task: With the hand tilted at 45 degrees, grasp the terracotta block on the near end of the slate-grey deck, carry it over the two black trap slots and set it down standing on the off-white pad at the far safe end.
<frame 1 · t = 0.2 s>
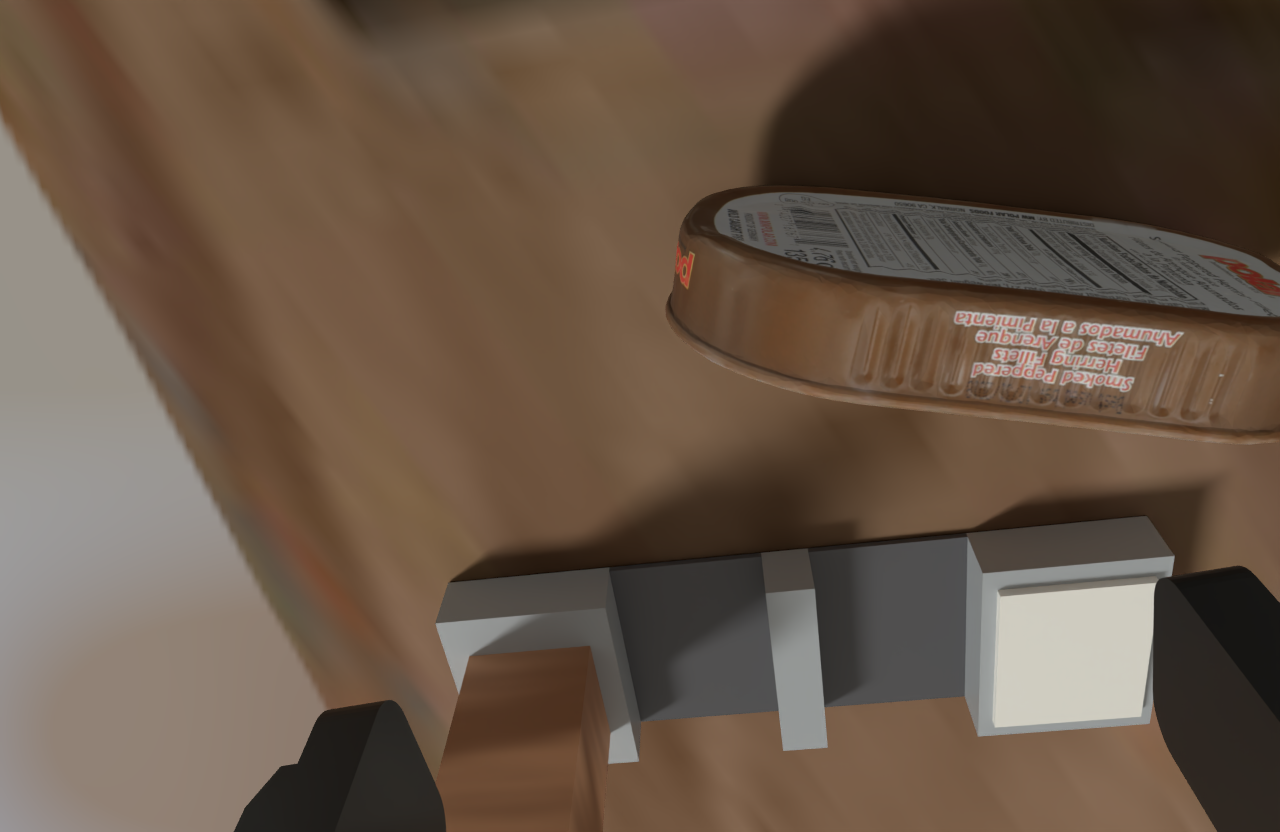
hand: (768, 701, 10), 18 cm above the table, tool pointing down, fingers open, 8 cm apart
tin: (949, 232, 26), on the table
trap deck: (792, 631, 33), on the table
block: (541, 695, 33), point 2 cm above the table, touching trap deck
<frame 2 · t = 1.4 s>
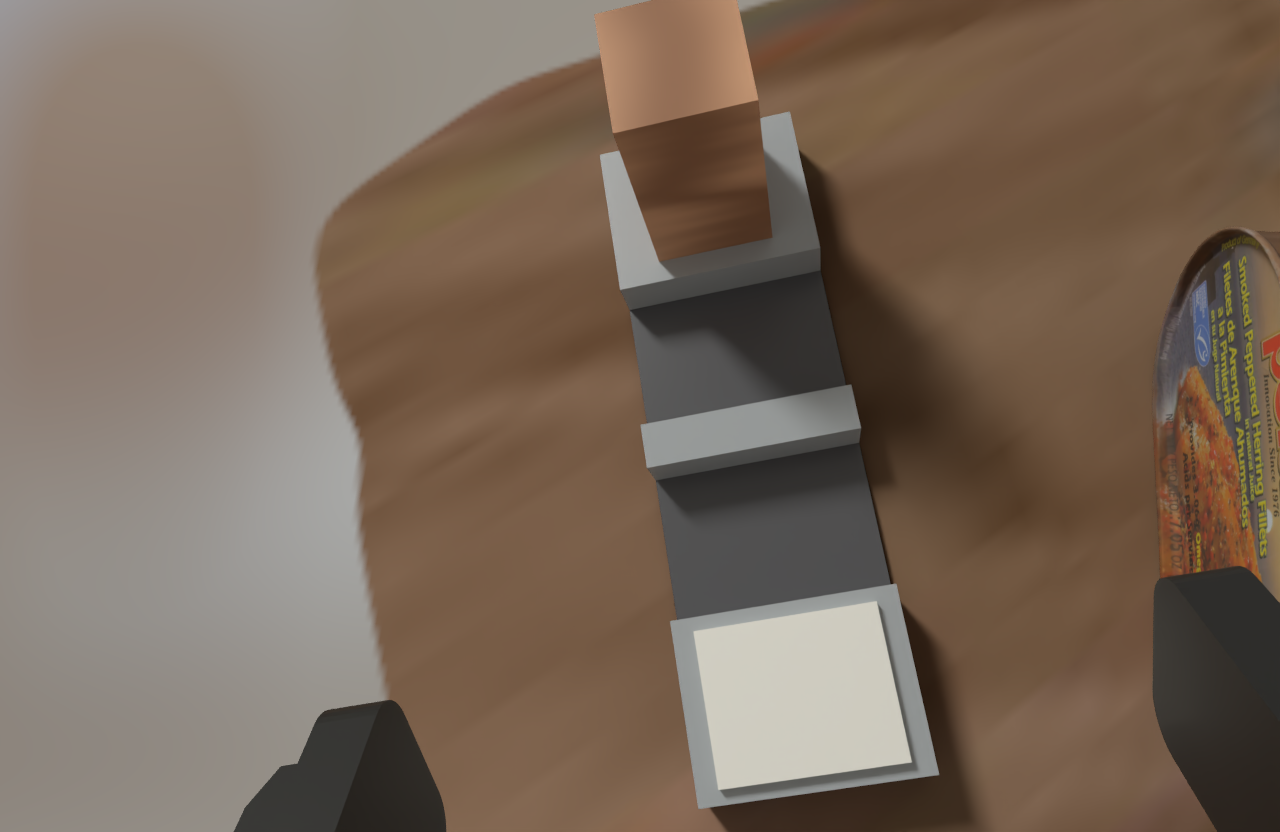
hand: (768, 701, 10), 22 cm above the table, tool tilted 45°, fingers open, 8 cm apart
tin: (1207, 523, 31), on the table
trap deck: (752, 442, 34), on the table
block: (706, 199, 35), point 2 cm above the table, touching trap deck
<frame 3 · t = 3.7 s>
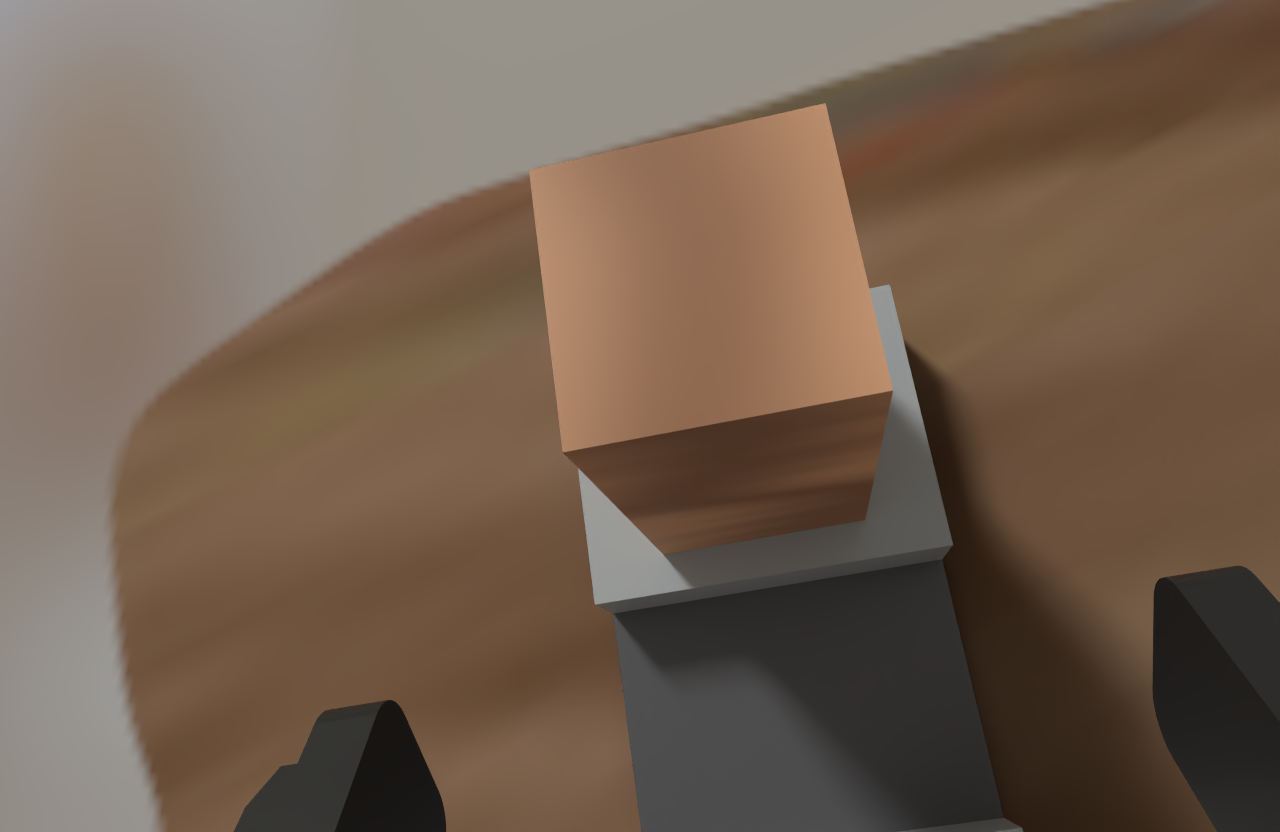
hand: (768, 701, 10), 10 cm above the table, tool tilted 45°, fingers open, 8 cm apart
block: (745, 441, 20), point 2 cm above the table, touching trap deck
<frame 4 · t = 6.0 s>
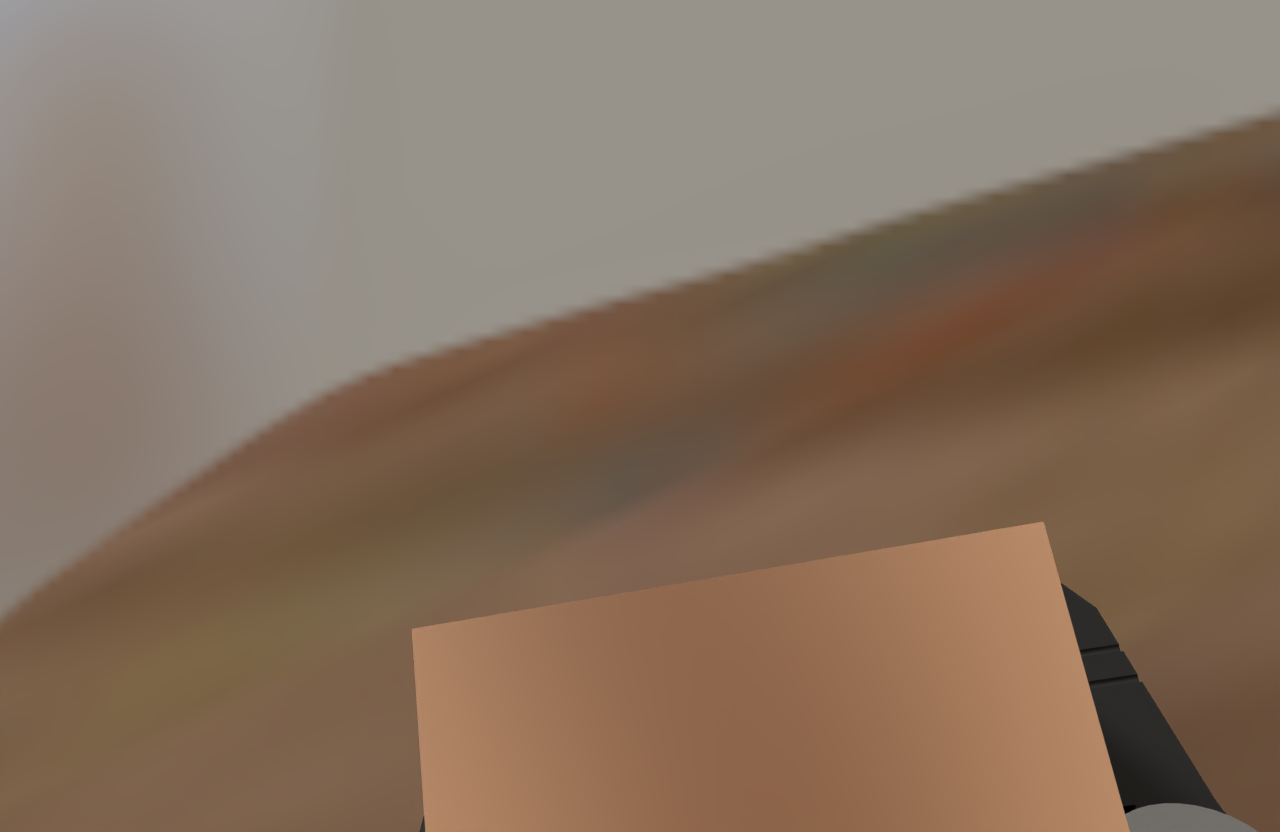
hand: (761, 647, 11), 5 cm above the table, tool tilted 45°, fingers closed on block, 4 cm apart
block: (800, 808, 13), point 2 cm above the table, touching gripper, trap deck
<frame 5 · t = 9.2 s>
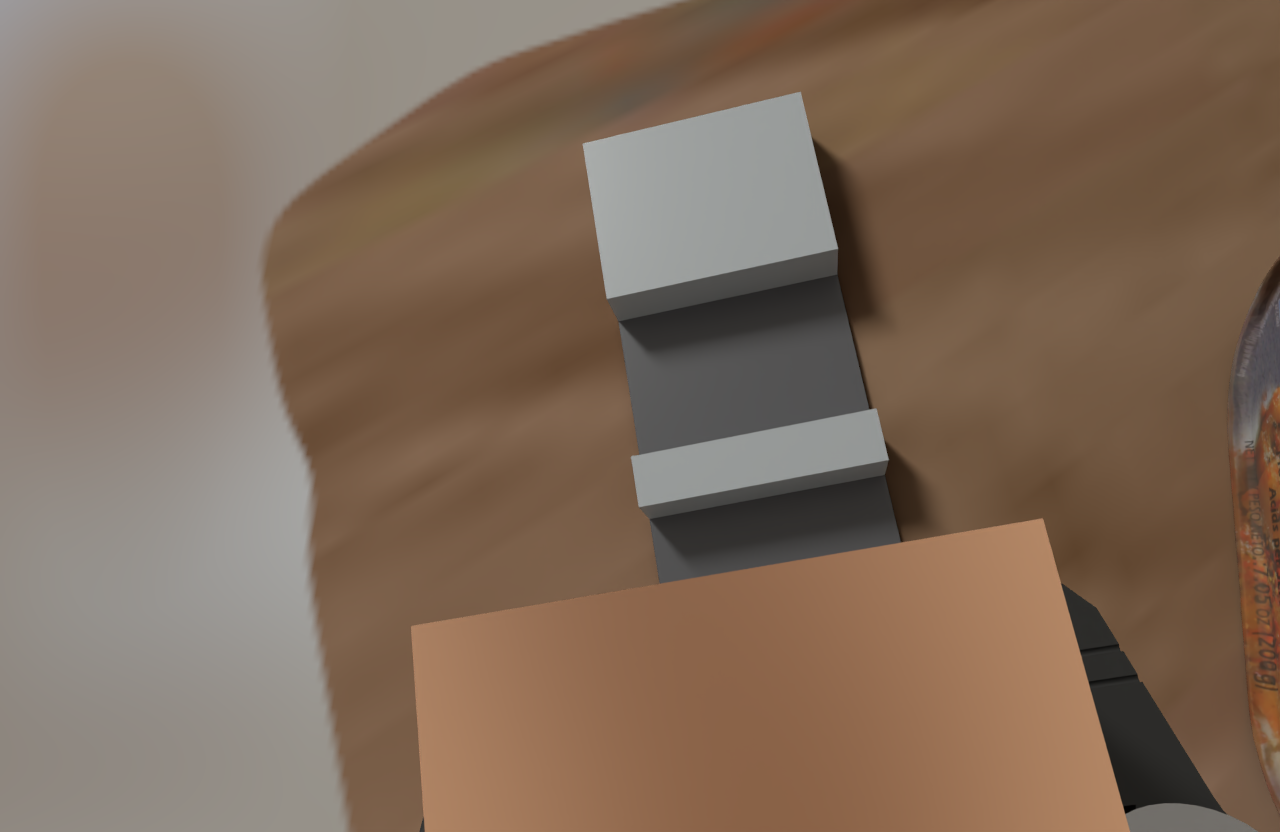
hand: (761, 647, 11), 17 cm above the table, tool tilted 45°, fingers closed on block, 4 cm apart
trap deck: (761, 474, 29), on the table
block: (799, 806, 13), point 15 cm above the table, touching gripper
when the fingers open (6 cm above the table, at t = 12.3 s): block drops 1 cm, resting on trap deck.
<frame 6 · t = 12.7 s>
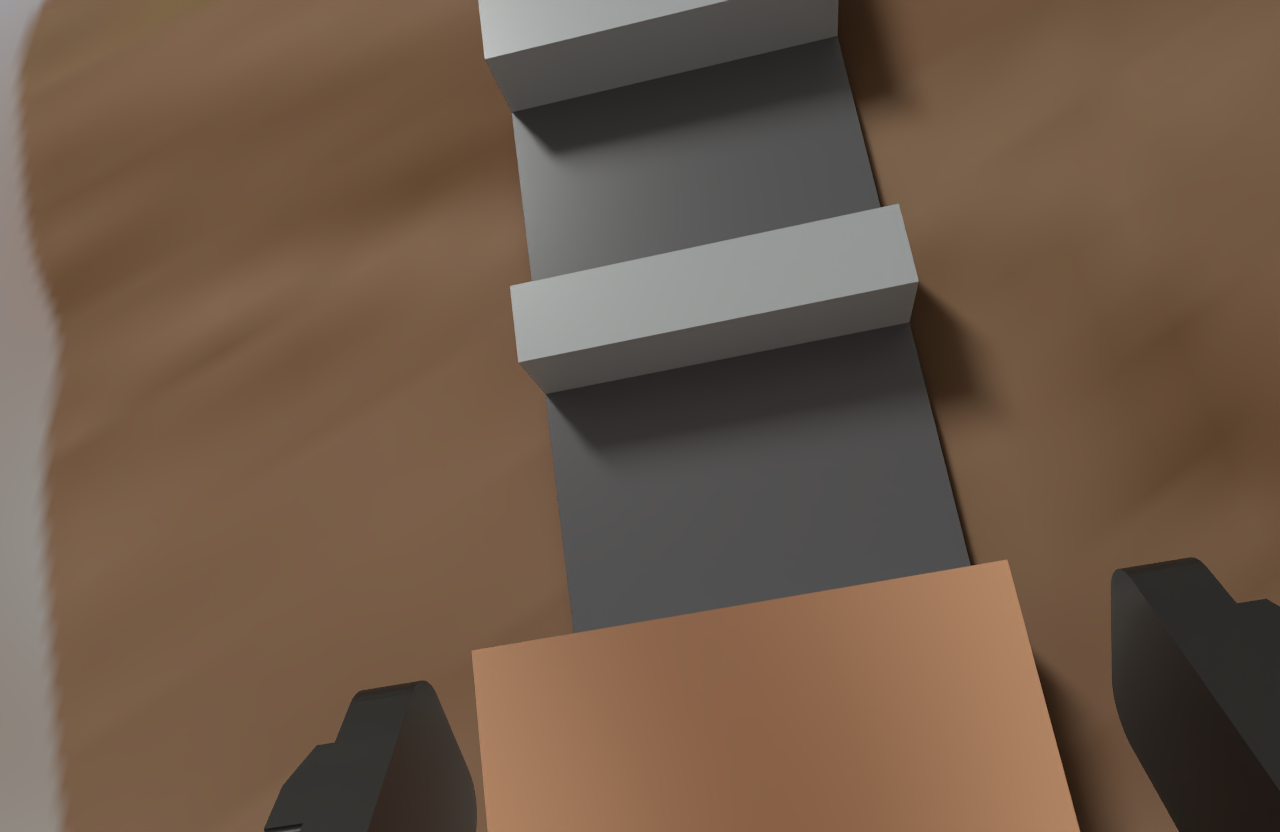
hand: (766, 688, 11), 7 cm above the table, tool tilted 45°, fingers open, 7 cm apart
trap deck: (717, 327, 19), on the table
block: (802, 805, 14), point 2 cm above the table, touching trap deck
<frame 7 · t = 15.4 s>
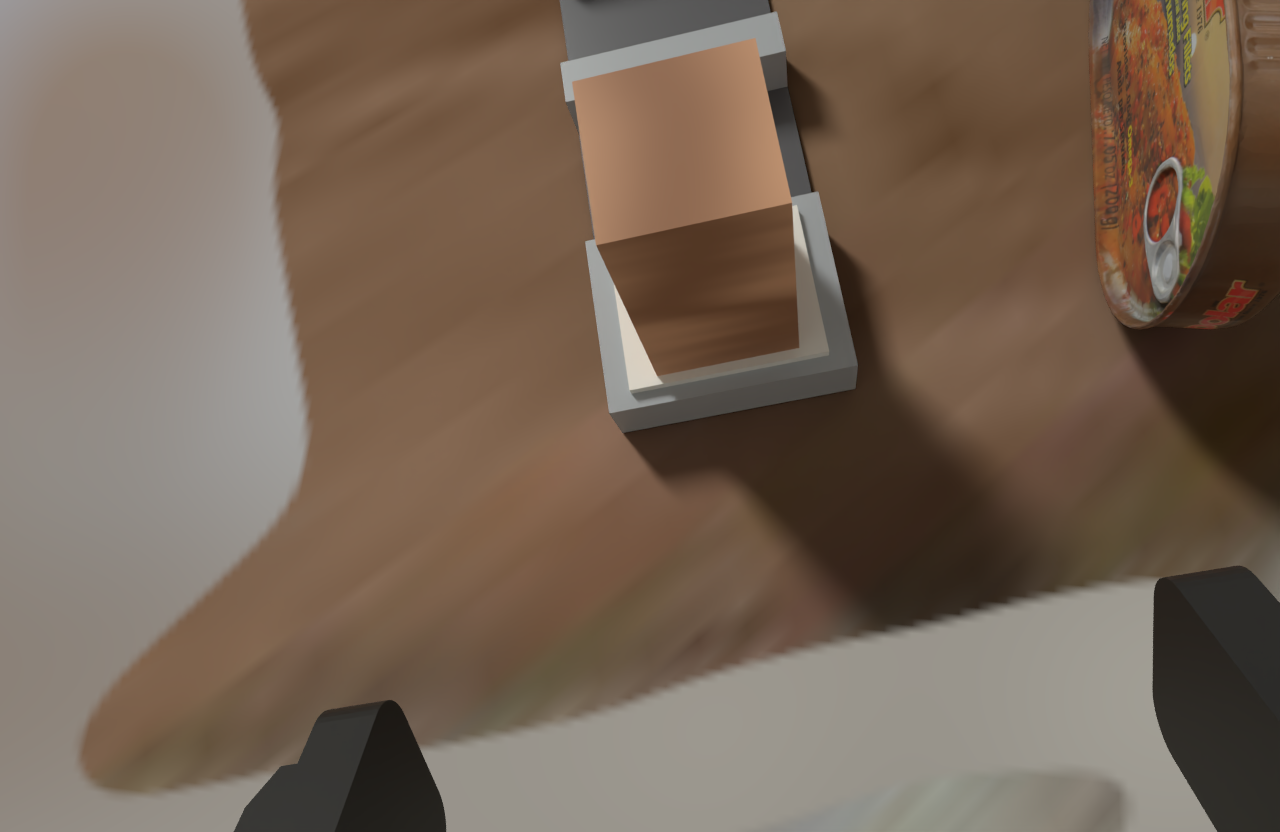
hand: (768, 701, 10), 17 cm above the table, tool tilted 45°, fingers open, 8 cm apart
tin: (1144, 145, 30), on the table
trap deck: (679, 95, 33), on the table
block: (715, 297, 28), point 2 cm above the table, touching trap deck
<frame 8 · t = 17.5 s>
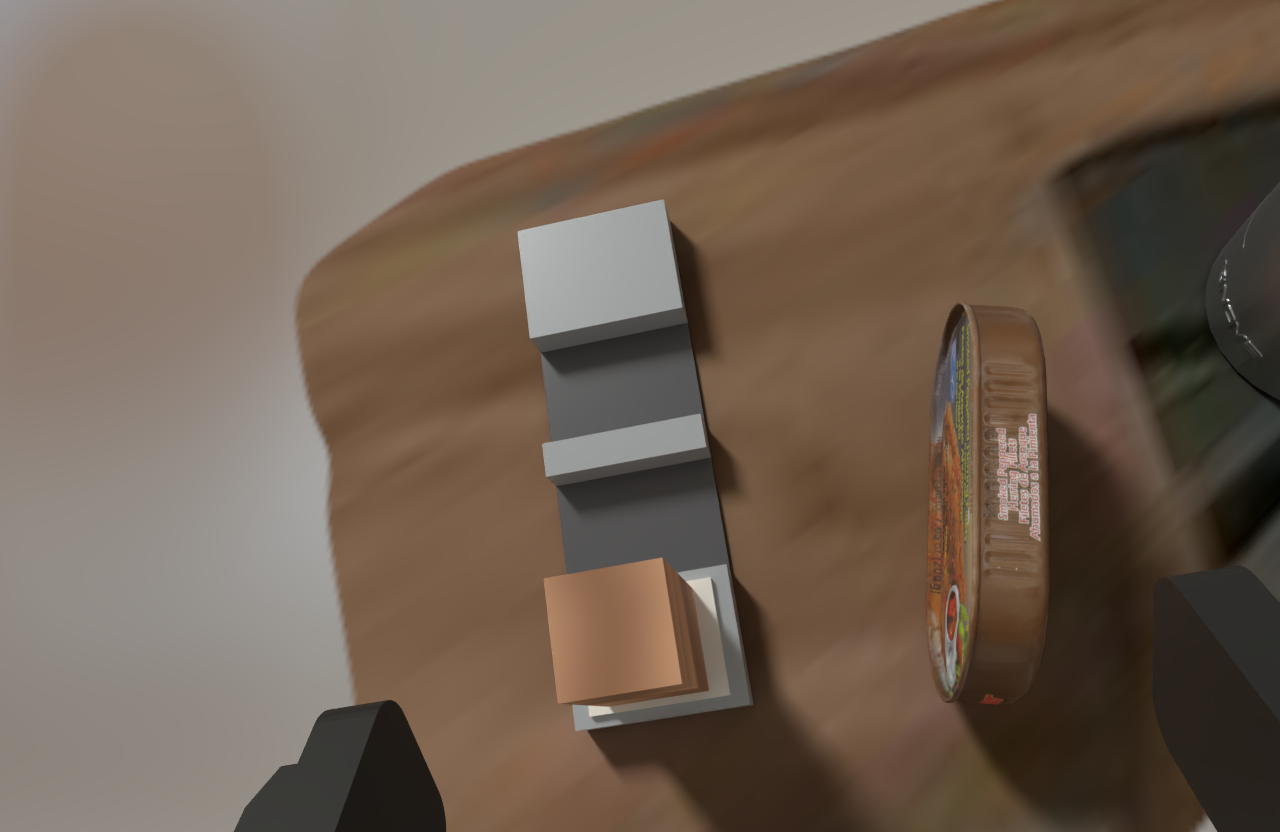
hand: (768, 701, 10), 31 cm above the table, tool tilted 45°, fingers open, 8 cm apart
tin: (966, 519, 41), on the table
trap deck: (631, 457, 44), on the table
block: (651, 647, 39), point 2 cm above the table, touching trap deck
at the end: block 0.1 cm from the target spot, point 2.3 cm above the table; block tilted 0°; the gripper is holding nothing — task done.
